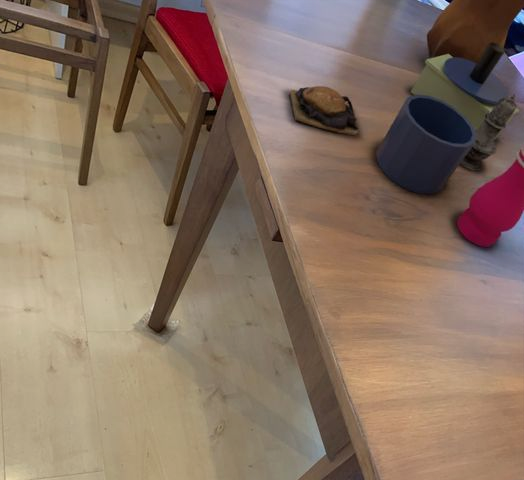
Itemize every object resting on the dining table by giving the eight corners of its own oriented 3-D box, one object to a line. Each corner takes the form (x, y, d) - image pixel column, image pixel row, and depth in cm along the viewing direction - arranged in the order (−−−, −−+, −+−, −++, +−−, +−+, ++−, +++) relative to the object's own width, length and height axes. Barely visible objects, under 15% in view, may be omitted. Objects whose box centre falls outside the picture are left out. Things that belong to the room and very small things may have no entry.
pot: (455, 182, 87) (489, 136, 81) (417, 203, 81) (450, 154, 74) (403, 137, 90) (432, 89, 83) (362, 153, 83) (389, 102, 77)
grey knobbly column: (481, 176, 91) (531, 112, 81) (449, 160, 91) (496, 93, 81) (484, 159, 94) (532, 95, 85) (453, 143, 94) (499, 77, 85)
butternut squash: (470, 65, 115) (557, -73, 96) (484, 101, 107) (582, -40, 88) (410, 43, 112) (488, -104, 92) (420, 79, 104) (507, -73, 84)
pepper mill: (455, 206, 83) (550, 83, 68) (497, 227, 84) (601, 109, 68) (452, 236, 79) (552, 111, 63) (497, 257, 79) (608, 139, 64)
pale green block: (497, 139, 100) (519, 110, 95) (477, 149, 96) (500, 119, 91) (430, 84, 104) (448, 53, 99) (408, 91, 100) (426, 59, 95)
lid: (515, 100, 97) (541, 64, 92) (483, 113, 90) (509, 75, 85) (463, 59, 100) (486, 22, 95) (428, 68, 93) (450, 29, 88)
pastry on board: (293, 124, 82) (302, 101, 79) (287, 91, 87) (296, 68, 84) (358, 139, 85) (369, 118, 83) (349, 106, 90) (359, 85, 87)
